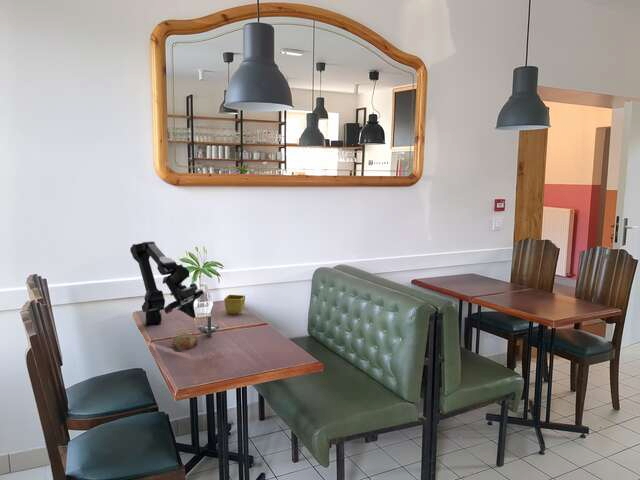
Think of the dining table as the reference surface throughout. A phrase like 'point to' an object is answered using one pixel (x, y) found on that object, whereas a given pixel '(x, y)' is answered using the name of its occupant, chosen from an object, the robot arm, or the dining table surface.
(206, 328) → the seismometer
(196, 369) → the dining table surface
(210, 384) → the dining table surface
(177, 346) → the mottled green brown ball
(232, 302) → the flower pot
